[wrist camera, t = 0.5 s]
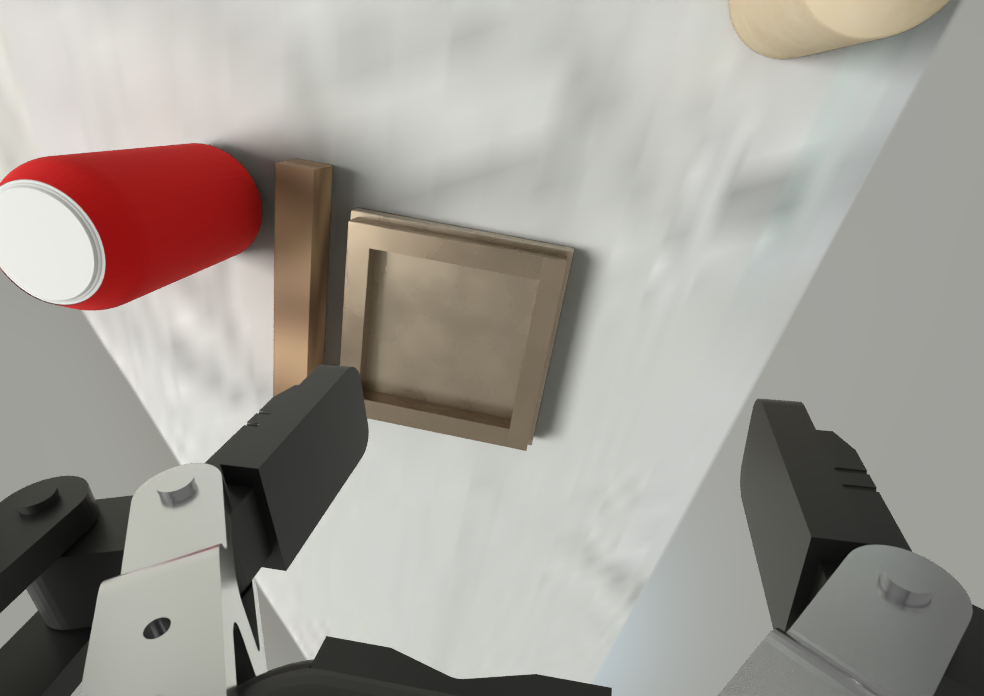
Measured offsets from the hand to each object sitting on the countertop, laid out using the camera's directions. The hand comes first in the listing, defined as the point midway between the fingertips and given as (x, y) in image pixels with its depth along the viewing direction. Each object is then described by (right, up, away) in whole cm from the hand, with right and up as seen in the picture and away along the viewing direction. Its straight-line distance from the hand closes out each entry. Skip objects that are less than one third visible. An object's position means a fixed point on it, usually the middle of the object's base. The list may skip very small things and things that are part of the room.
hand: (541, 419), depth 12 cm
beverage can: (-16, +10, +21) cm, 28 cm away
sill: (-12, +5, +22) cm, 25 cm away
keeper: (-3, +3, +22) cm, 22 cm away
